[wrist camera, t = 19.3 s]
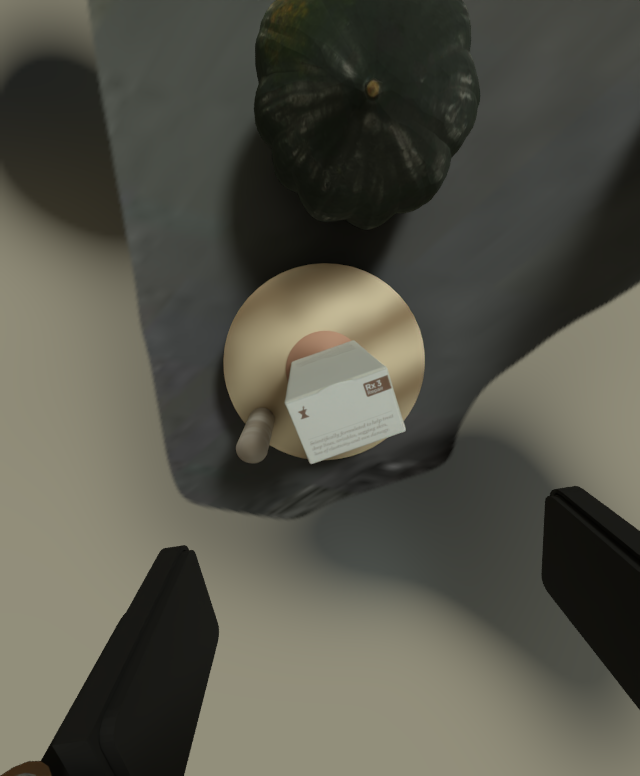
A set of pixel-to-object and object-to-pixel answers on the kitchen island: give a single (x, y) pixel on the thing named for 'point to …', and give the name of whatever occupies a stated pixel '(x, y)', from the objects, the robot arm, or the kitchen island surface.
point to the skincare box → (341, 401)
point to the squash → (364, 101)
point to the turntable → (313, 346)
